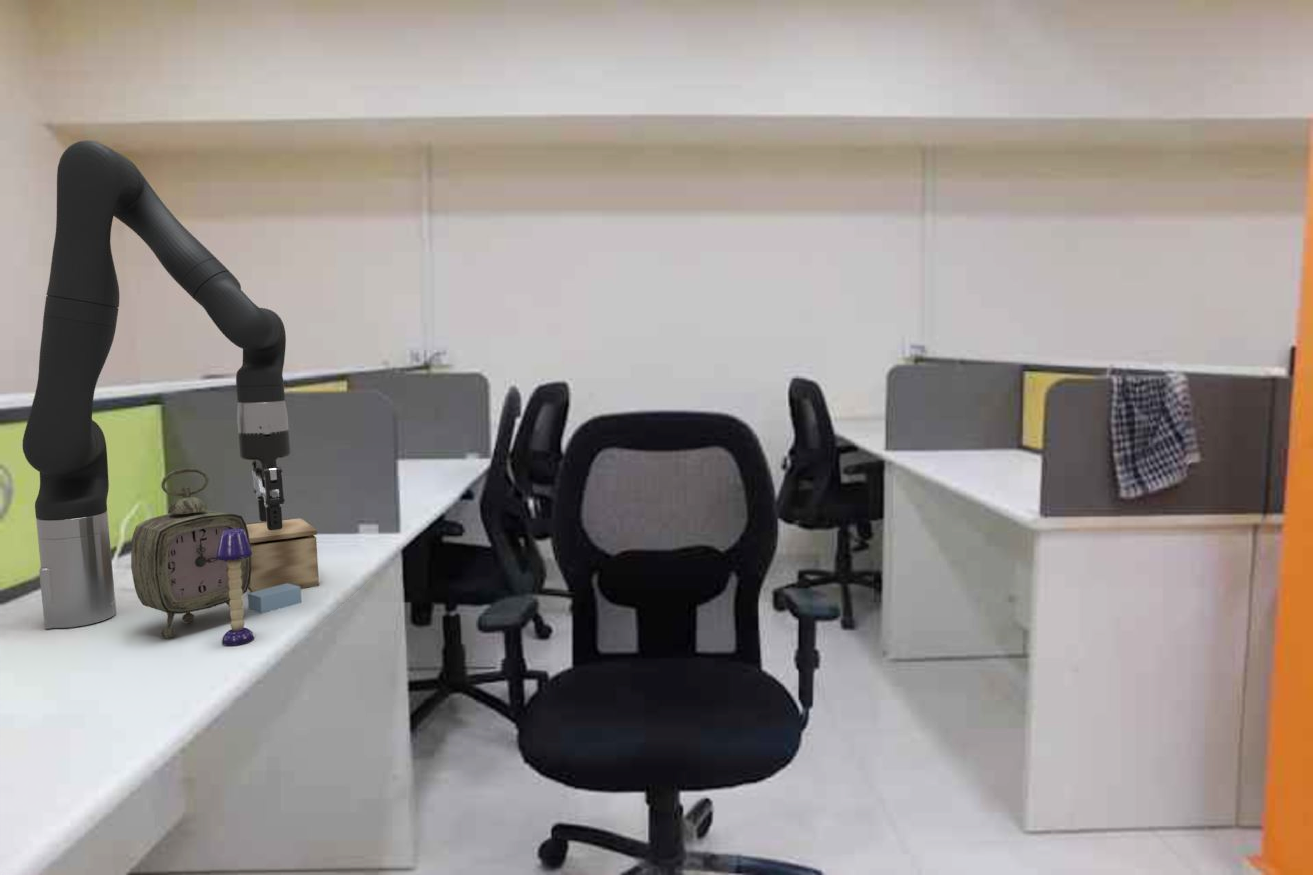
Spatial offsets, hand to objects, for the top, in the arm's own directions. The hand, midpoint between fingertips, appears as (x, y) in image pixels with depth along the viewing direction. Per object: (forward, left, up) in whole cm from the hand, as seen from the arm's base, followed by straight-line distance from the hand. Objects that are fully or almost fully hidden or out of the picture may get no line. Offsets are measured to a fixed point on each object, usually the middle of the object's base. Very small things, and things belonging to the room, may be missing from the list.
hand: (270, 524), depth 133 cm
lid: (+3, +16, -5) cm, 17 cm away
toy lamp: (-7, -15, -14) cm, 22 cm away
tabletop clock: (-12, -3, -14) cm, 19 cm away
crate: (+3, +16, -14) cm, 21 cm away
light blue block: (0, 0, -14) cm, 14 cm away
